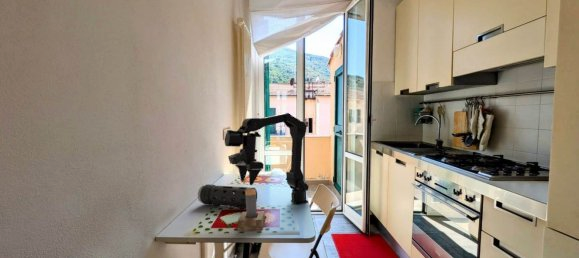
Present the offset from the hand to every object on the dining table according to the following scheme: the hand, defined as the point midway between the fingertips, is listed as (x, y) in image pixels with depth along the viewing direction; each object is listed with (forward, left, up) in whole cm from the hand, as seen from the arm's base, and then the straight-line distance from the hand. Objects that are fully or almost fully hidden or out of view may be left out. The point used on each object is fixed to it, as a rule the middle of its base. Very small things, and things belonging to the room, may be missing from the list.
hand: (246, 182), depth 113 cm
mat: (+7, +1, -14) cm, 16 cm away
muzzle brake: (+5, -16, -14) cm, 22 cm away
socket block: (+3, +12, -14) cm, 19 cm away
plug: (+3, +12, -14) cm, 19 cm away
